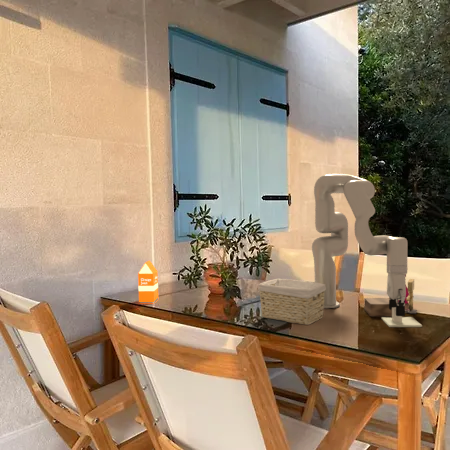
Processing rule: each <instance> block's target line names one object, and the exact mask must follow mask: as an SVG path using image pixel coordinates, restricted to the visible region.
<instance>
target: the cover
mask: <svg viewBox="0 0 450 450" xmlns="http://www.w3.org/2000/svg"><path fill="white" fill-rule="evenodd" d="M380 318H381V320H382V321H383V322H384V323H385V324H386V325H387V326H388V327H389V328H422V327H423V325H422V324H421V323H420V322H419V321H417V320H416V319H415V318H414V317H413V316H396V307H392V316H380Z"/></svg>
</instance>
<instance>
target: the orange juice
mask: <svg viewBox="0 0 450 450" xmlns="http://www.w3.org/2000/svg"><path fill="white" fill-rule="evenodd" d="M158 273H159V272H158V269H156V267H155V266H154V264H153V263H152V262H151V260H148V261H145V262H144V263H143V266H142V267H141V269H140V270H139V272H138V273H137V278H138V279H137V281H138V283H137V284H138V285H137V287H138V303H139V302H154V301H155V300H156V299H157V298H158V299H159V277H158Z"/></svg>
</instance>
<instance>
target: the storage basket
mask: <svg viewBox="0 0 450 450" xmlns="http://www.w3.org/2000/svg"><path fill="white" fill-rule="evenodd" d="M325 290H326V287H325V284H321V283H315V281H314V282H313V281H304V280H297V279H290V278H275V279H271V280H270V279H269V280H267V281H263V282H260V283H259V284H258V291H259V300H260V309H261V317H262V318H265V319H271V320H277V321H283V322H286V323H287V322H288V323H291V324H292V323H294V324H295V323H296V324H300V325H307V326H308V325H311V324H313V323H315V322H318V321H319V319H320V320H322V318H324V309H325V308H324V293H325Z"/></svg>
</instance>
